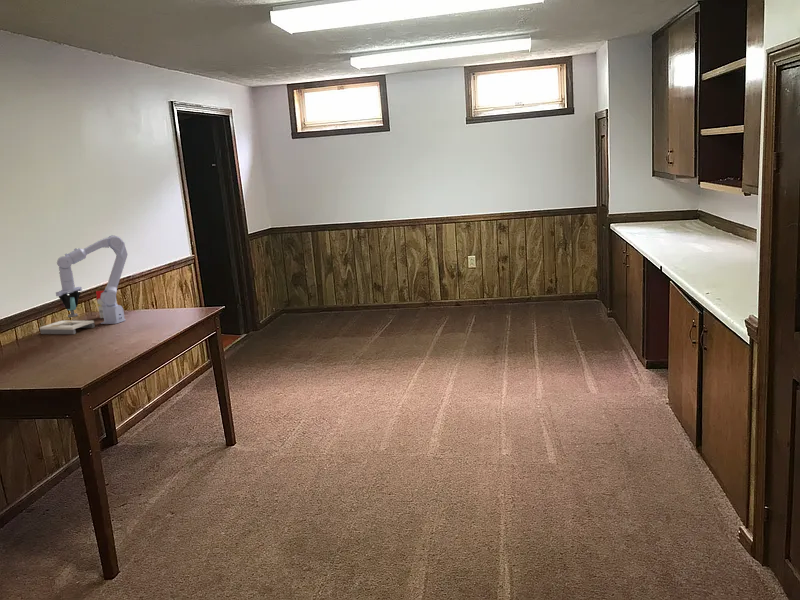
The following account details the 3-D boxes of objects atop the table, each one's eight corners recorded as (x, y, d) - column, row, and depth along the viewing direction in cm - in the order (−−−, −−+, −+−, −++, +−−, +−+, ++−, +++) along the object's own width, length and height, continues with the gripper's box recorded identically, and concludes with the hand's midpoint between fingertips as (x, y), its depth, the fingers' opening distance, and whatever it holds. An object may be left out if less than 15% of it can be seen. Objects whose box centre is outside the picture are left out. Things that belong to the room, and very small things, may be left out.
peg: (79, 315, 340) (76, 296, 338) (72, 317, 336) (69, 298, 334) (73, 315, 341) (70, 296, 339) (66, 317, 337) (62, 298, 335)
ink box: (119, 315, 365) (115, 288, 362) (114, 317, 360) (110, 290, 357) (104, 316, 366) (100, 289, 363) (99, 318, 361) (95, 291, 358)
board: (94, 327, 339) (93, 320, 339) (73, 334, 326) (72, 327, 326) (62, 326, 346) (61, 320, 345) (40, 333, 333) (39, 327, 332)
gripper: (72, 278, 343) (76, 304, 346) (49, 283, 330) (53, 311, 332) (83, 278, 341) (87, 304, 343) (60, 283, 327) (65, 311, 330)
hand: (71, 307), depth 337 cm, fingers closed on peg, 4 cm apart
